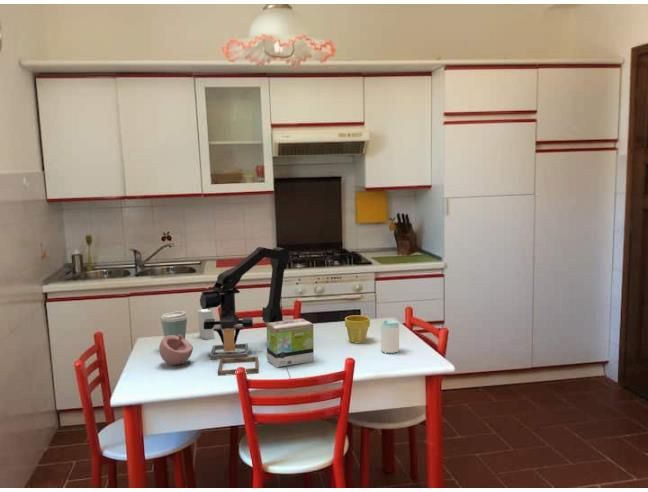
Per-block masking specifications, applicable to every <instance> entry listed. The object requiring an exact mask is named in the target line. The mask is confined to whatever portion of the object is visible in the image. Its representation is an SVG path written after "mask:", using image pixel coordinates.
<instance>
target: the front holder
mask: <svg viewBox="0 0 648 492" xmlns="http://www.w3.org/2000/svg"><path fill="white" fill-rule="evenodd" d="M248 362H249V363H251V362H255V363H254V364H255V365H254V367H251V368H245V369H246V372H247V374H246V375H248V374H250V375H251V374H259V356H248V357H241V358H223V359H219V363H218V368H217V376H227V375H226V374H232V375H236V374H235V371H236V369H237V368H235V369H234V368H233V369H231V368H230V369H223V364H231V363H232V364H233V363H248Z"/></svg>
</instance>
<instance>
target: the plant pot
mask: <svg viewBox="0 0 648 492" xmlns="http://www.w3.org/2000/svg"><path fill="white" fill-rule="evenodd" d="M344 325H345V327H346V332H347V337H348V342H350V343H351V342H364V341H365V342H366V339H367V335H368V330H369V328H370V327H371V326H370V325H371V318H370V317H368V316H366V315H361V314H360V315H357V314H356V315H349V316H346V317H345V318H344ZM365 342H364V343H365Z"/></svg>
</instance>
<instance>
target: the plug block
mask: <svg viewBox="0 0 648 492" xmlns="http://www.w3.org/2000/svg"><path fill="white" fill-rule="evenodd" d="M223 336H224V349H223V352H235V351H236V350H235V349H236V348H235V344H234V339H235V327H234V328H232V329H230V328H226V329H223Z"/></svg>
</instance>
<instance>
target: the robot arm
mask: <svg viewBox="0 0 648 492" xmlns="http://www.w3.org/2000/svg"><path fill="white" fill-rule="evenodd" d="M264 258H266V259H267V258H268V259H269V261H270V262H269V263H270V266H271V269H272V270H271V278H270V287H269V288H270V289H269V295H268V303H267V305H266V307H265V306H264V307H262V312H261V316H260V317H261V318H262V321H263V323H264V324H265V325H266V326H267V323H271V322H279V321H284V320H283V311H282V310H283V309H282V307H281V299H282V293H283V292H282V291H283V283H284V274H285V270H286V269H287V267H288V265H289V263H290V258H291V253H290V251H289V250H288V249H287V248H284V247H283V248H282V247H273V248H266V247H263V246H258V247H257V248H256V249H255V250H254V251H253V252H251V253H250V254H249V255H248V256H246V257H245V258H244V259H243V260H241V261H240V262H238V264H236V265H235V266H233V267H231V268H229V269H226V270H225V271H223V272H220V273H219V274H218V276H217V279H216V281H215V283H214V285H213V287H211V290H202V291H201V295H200V297H199V304H200V307H201V310H202V309H208V310H210V309H214V308H218V307H219V306H220V307H219V308H220V309H219V310H220V316H219V320H216V319H215V318H213V319H206V320H205V321H204V329H212V328H214V332H216V333H217V334H218V336H219V339H220V341H221V343H222V345H224V336H223V330H224V329H226V328H230V329H232V328H234V336H235V339H234V344H237V340H238V336H239V334H240V331H241V330H244V328H252V327H253V325H254V321H253V320H254V318H253V317H252V316H244V317H243V316H242V319H240V318H239V317H240V315H239V314H236V297H235V296H236V295H235V294H240V293H241V291H240V290H239V289H238V288H237V287H236V286H237V285H238V284H239V282H240V281H241V279H242V277H244V275H245V274H247V273H248V272H249V271H250V270H251V269H252V268H254V267H255V266H256V265H257V264H258V263H260V262H261V261H263V259H264Z"/></svg>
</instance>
